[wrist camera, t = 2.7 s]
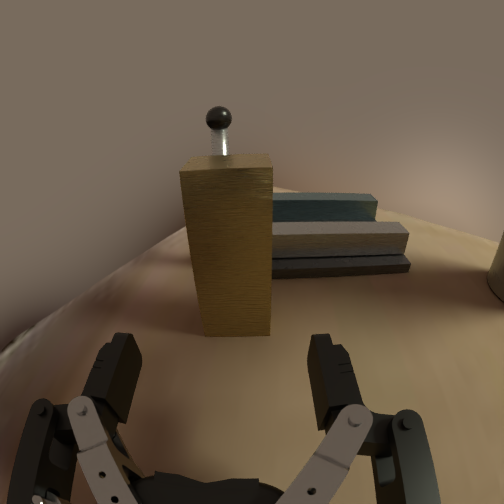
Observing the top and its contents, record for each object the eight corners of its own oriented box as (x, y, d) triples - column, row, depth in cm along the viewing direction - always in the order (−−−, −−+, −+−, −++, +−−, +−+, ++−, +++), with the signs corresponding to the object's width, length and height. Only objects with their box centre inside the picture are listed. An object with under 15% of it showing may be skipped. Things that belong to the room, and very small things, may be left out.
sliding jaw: (405, 255, 31) (430, 122, 22) (215, 261, 31) (203, 107, 22) (394, 241, 34) (413, 118, 25) (218, 245, 34) (208, 106, 25)
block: (269, 335, 23) (272, 167, 16) (205, 336, 23) (179, 171, 16) (267, 304, 27) (268, 153, 19) (209, 305, 27) (191, 156, 19)
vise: (408, 272, 30) (417, 241, 28) (220, 280, 30) (216, 245, 28) (364, 215, 44) (368, 191, 42) (228, 217, 44) (227, 191, 42)
